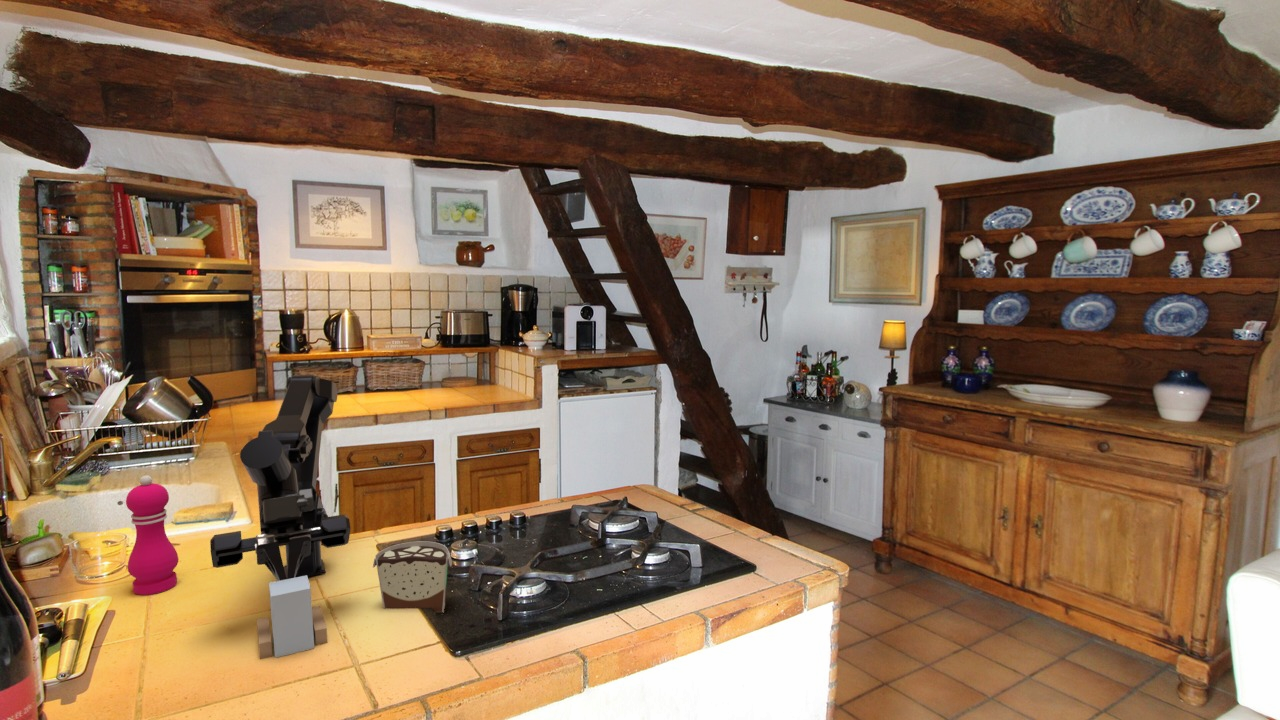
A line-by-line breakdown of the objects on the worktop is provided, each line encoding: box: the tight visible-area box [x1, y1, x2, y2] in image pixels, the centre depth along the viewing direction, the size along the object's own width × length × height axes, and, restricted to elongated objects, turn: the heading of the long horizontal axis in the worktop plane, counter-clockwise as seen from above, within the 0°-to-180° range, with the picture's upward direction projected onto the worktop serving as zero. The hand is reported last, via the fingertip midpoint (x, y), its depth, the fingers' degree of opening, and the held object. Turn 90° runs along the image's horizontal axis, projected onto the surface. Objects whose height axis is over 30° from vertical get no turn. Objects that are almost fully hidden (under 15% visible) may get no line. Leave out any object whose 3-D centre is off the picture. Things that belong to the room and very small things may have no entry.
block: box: [268, 575, 315, 659], centre depth 100 cm, size 5×5×9 cm
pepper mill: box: [125, 474, 179, 596], centre depth 121 cm, size 7×7×20 cm
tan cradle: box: [256, 605, 328, 660], centre depth 100 cm, size 15×9×3 cm, turn 30°
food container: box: [372, 540, 453, 614], centre depth 115 cm, size 12×6×10 cm, turn 92°
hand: (288, 592), depth 103 cm, fingers closed, pressing on block
